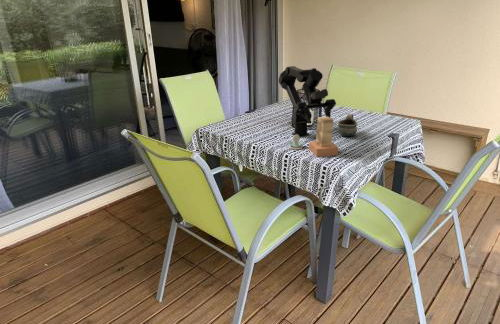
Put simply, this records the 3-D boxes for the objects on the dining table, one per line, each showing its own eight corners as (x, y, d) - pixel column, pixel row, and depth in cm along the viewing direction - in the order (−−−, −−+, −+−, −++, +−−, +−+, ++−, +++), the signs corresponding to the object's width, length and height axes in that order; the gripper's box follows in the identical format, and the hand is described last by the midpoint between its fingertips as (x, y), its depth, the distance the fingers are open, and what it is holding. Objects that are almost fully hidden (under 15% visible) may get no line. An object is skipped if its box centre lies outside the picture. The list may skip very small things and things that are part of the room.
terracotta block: (308, 149, 172) (309, 141, 170) (329, 147, 173) (329, 139, 172) (316, 157, 163) (316, 149, 161) (337, 155, 164) (338, 147, 163)
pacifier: (303, 150, 171) (304, 145, 176) (303, 138, 168) (304, 133, 173) (287, 149, 172) (289, 145, 177) (287, 137, 170) (289, 132, 175)
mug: (336, 137, 185) (337, 118, 181) (338, 130, 196) (339, 111, 192) (355, 139, 182) (357, 119, 178) (356, 131, 193) (358, 112, 189)
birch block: (315, 142, 168) (317, 117, 164) (325, 141, 170) (327, 116, 165) (321, 146, 164) (323, 120, 159) (331, 145, 165) (333, 119, 161)
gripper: (297, 84, 162) (306, 115, 157) (335, 81, 167) (346, 111, 161) (290, 98, 172) (299, 127, 167) (326, 94, 177) (336, 123, 172)
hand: (320, 122), depth 167 cm, fingers open, 9 cm apart
